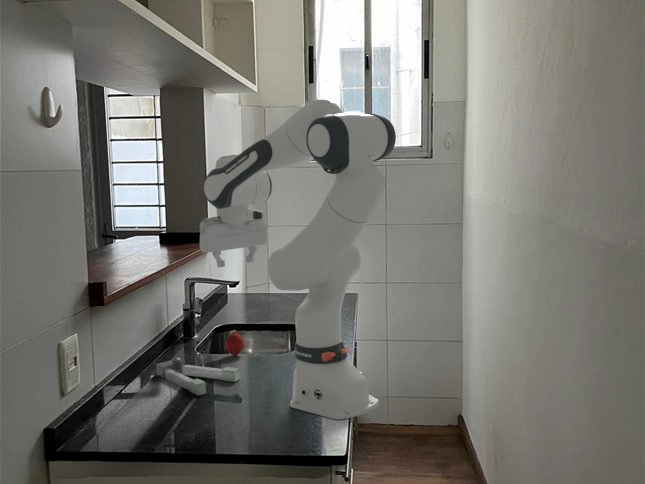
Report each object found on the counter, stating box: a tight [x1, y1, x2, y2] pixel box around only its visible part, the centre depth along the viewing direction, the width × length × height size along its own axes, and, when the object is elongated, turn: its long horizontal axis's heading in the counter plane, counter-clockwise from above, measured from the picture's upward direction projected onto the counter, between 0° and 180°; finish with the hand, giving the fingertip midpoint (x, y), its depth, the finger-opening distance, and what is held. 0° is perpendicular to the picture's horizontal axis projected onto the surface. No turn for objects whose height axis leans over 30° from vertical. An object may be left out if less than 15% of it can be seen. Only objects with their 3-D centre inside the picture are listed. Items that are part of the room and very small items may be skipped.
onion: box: [224, 329, 245, 357], centre depth 198 cm, size 6×6×8 cm
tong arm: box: [171, 356, 241, 383], centre depth 179 cm, size 21×2×4 cm, turn 65°
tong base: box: [155, 359, 207, 397], centre depth 176 cm, size 24×6×3 cm, turn 40°
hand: (235, 264), depth 180 cm, fingers open, 8 cm apart
